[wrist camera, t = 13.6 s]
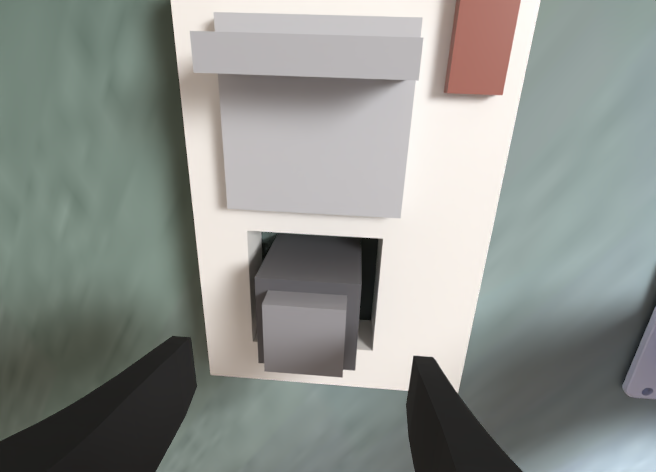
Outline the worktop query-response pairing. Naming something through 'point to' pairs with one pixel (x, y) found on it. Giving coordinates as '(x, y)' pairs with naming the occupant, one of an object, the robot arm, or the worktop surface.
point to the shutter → (313, 109)
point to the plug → (309, 305)
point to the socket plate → (393, 233)
